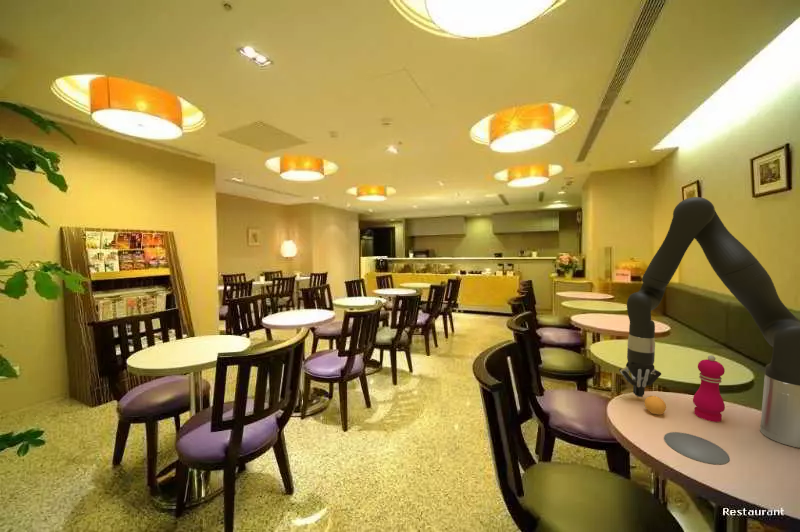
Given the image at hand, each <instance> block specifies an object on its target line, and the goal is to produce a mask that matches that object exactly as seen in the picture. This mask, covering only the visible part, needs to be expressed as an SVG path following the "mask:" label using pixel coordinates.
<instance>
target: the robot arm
mask: <svg viewBox="0 0 800 532" xmlns="http://www.w3.org/2000/svg"><path fill="white" fill-rule="evenodd" d="M715 208H716V207H715V206H714V204H713V203H712V202H711V201H710V200H709V199H708V198H704V197H699V196H692V197H688V198H685V199H682V200H681V201H680V202H678V204H676V205H675V207H674V209H673V211H672V212H673V213H672V219H671V222H670V224H669V225H670V226H669V228H668V231H667V233H666V236H665V238H664V240H663V241H662V243H661V245H660V246H659V249H658V250H657V251H656V253H655V254H654V255H653V257H652V259H651V261H650V262H649V263H648V266H647V268H646V269H645V272H644V273H643V275H642V278H641V282H642V284H641V287H640V289H639V290H638V291H637V292H633V293H631V294H630V295H629V297H627V301H626V311H627V316H628V321H629V326H628V327H629V328H628V330H629V331H628V337H627V338H628V339H627V349H626V350H627V353H626V354H627V355H626V358H627V359H626V360H627V363H625V367H624V368H619V369H618V371H619V373H620V374H621V375H622V376H623V378H624V379H625V381H627V382H628V383H629V384H630V385H632V386H633V391H632V393H633V394H634V395H635V396H636V397H637V398H643V397H644V396H645V389H646V387H647V386H649V387H650V386H652V385H653V384H654V383H655V382H656V381H657V379H659V378H660V377H661V376H662V372H661V371H659V370H657V369H656V368H655V365H654V364H655V356H656V354H655V353H656V342H655V341H656V338H655V335H656V334H655V333H656V324H655V322H654V321H653V319H652V311H653V310H655V309H656V308H658V307H659V305H660V304H661V302H662V299H663V297H664V294H665V292H666V290H667V289H666V288H667V286H668V285H669V283H670V282H671V281H672V279H673V277H674V275H675V273H676V272H677V270H678V268H679V267H680V264H681V262H682V260H683V258H684V256H685V254H686V253H687V250H688V249H689V247H690V246H691V245H692V243H693V241H694V240H695V241H696V242H697V243H698V245H699V246H700V249H701V250H702V252H703V253H704V255H705V257H706V260H707V262H708V264H710V266H711V268H712V270H713V271H714V273H715V275H716V276H717V277H718V278H719V280H721V282H722V284H723V285H724V286H725V287H726V288H727V289H728V290H729V292H730V293H731V295H732V296H733V297H735V299H736V300H737V301H738V302H739V303H740V304H741V305H742V306H743V307H744V308H745V309H746V310H747V311H748V313H749V314H750V316H751V317H752V320H754V323H755V324H756V326H757V327H758V329H759V331H760V332H761V335H762V336H763V338H764V340H765V341H766V342H767V343H768V344H769V345H770V346H771V347H772V355H771V360H770V363H767V364H766V365H765V369H764V381H763V390H762V391H763V392H762V403H761V404H762V405H761V413H760V414H761V417H760V425H759V427H760V429H759V431H760V433H761V434H762V435H763V436H764V437H766V438H769V439H771V440H772V441H774V442H777V443H780V444H783V445H785V446H789V447H794V448H799V449H800V320H799V319H798V318H797V317H796V316H795V315H794V314H793V313H792V312H791V310H789V308H787V306H786V305H785V304H784V303H783V302H782V300H781V299H780V297H779V294H778V291H777V289H776V287H775V284H774V282H773V279H772V278H771V276H770V274H769V273H768V271H767V270H766V269H765V267H764V266H763V265H762V264H761V262H760V261H759V260H758V258H756V257H755V255H753V254H752V252H751V251H750V250H749V249H748V248H747V247H746V246H745V245H744V243H742V242H741V241H740V240H738V239H737V237H735V236H734V235H733V234H732V233H731V232H730V231H729V230H728V229H727V227H726V226H725V224H724V222H722V220H721V218H720V217H719V215H718V213H717V212H716V210H715ZM630 374H631V376H630Z"/></svg>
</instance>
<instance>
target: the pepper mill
mask: <svg viewBox="0 0 800 532" xmlns="http://www.w3.org/2000/svg"><path fill="white" fill-rule="evenodd" d="M716 360H717V359H716V357H715V356H714V355H710V354H709V355H708V356H707V358H706V359H701V360H700V361H699V362H698V363H697V369H698V371H699V372H700V373H699V376H698V378H699V379H700V385H699V387H698V389H697V390H696V392H695V393H694V395H693V399H692V402H693V404H694V405H695V407H694V409H693V410H694V411H693V414H694V415H695V416H697V417H698V418H699V419H701V420H705V421H708V422H711V423H712V422H714V423H719V422H722V418H723V415H722V413H723V412H724V411H725V409H726V407H725V401H724V399H723V397H722V396H721V391H720V384H721V383H722V376H723V375H724V374H725V367H724V365H723V364H722V363H720V362H718V361H716Z"/></svg>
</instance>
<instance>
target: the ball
mask: <svg viewBox="0 0 800 532" xmlns="http://www.w3.org/2000/svg"><path fill="white" fill-rule="evenodd" d="M643 403H644V406H645V409H646V410H647V411H648V412H650V413H651V414H653V415H662V414H664V413H665V412H666V410H667V405H666V402H665V401H664V400H663V399H662V398H661V397H659V396H656V395H650V396H648V397H646V398H645V399H644V402H643Z"/></svg>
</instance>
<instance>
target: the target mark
mask: <svg viewBox="0 0 800 532" xmlns="http://www.w3.org/2000/svg"><path fill="white" fill-rule="evenodd" d="M663 436H664V437H663V440H664V442H665V444H666V445H667V446H668V447H670V448H671V449H672V450H673V451H674V452H677V453H678V454H680V455H682V456H685V457H687V458H689V459H692V460H694V461H698V462H700V463H705V464H709V465H710V464H711V465H716V464H719V465H725V464H728V463H729V462H730V456H729V453H728V452H726V451H725V450H724V449H723V448H722V447H721V446H719V445H717V444H716V443H713V442H712V441H711V440H708V439H705V438H702V437H700V436H698V435H693V434H691V433H686V432H677V431H675V432H674V431H671V432H667V433H666V434H664V435H663Z"/></svg>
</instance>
